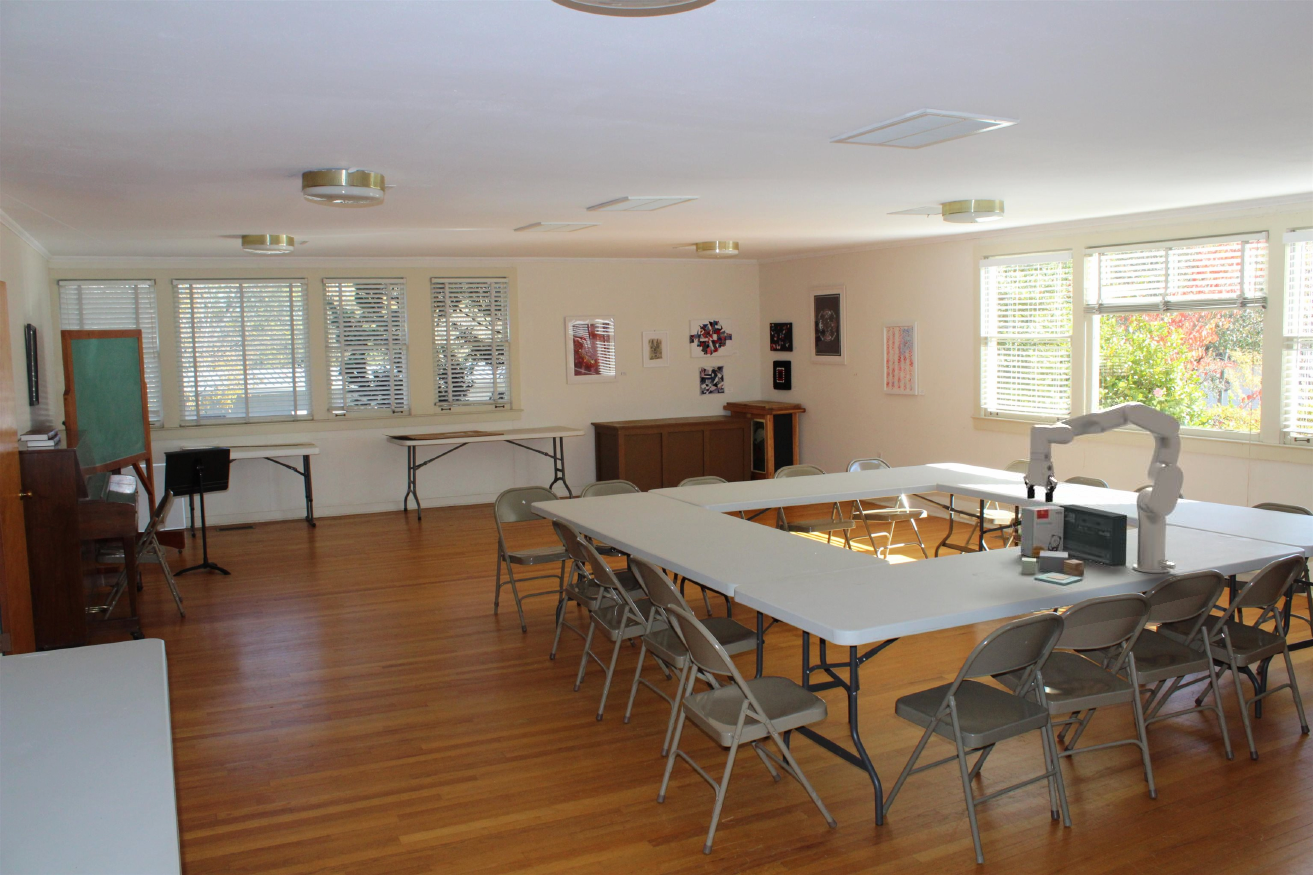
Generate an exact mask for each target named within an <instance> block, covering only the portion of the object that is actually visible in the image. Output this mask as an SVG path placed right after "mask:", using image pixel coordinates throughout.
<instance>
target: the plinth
mask: <svg viewBox="0 0 1313 875" xmlns="http://www.w3.org/2000/svg"><path fill="white" fill-rule="evenodd" d="M1067 560H1069V555H1068V552H1056V551H1040V557H1039V571H1040V570H1041V571H1043V572H1055V573H1063V572H1064V561H1067Z"/></svg>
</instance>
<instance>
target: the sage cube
mask: <svg viewBox="0 0 1313 875" xmlns="http://www.w3.org/2000/svg"><path fill="white" fill-rule="evenodd" d="M1030 573H1034V575H1036V574H1037V557H1022V558H1021V574H1030Z"/></svg>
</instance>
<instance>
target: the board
mask: <svg viewBox="0 0 1313 875" xmlns="http://www.w3.org/2000/svg"><path fill="white" fill-rule="evenodd" d="M1033 578H1034V580H1035V579H1036V580H1035V581H1040V580H1042V581H1041V582H1046V583H1052V584H1055V583H1056V585H1060V586H1067V585H1071V584H1074V583H1077V582H1080V581H1083V577H1081V576H1070V575H1067V574H1064V573H1060V572H1055V571H1050V572H1048V573H1045V574H1041V575H1037V576H1034V577H1033Z"/></svg>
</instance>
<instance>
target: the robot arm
mask: <svg viewBox="0 0 1313 875" xmlns="http://www.w3.org/2000/svg"><path fill="white" fill-rule="evenodd" d="M1130 425H1134V426H1136V427H1137V428H1140V429H1143V430H1145V431H1147V432H1149V433H1150V434H1151V435H1152V437H1153V440H1154V450H1153V454H1152V458H1151V461H1150V463H1149V466H1148V469H1147V479H1148V480H1149V482H1151V483H1152V484H1153V486H1152V487H1146V488H1144V489H1142V490H1140V492H1139V493H1138V494H1137V497H1136V509H1137V547H1136V548H1137V550H1136V552H1137V554H1136V563H1134V564H1133V565H1132V569H1134V570H1135V571H1139V572H1142V573H1149V574H1164V573H1168V572H1170V569H1171V570H1175V569H1176V566H1177V565H1176V564H1175V563H1173V562H1169V559H1168V558H1166V546H1167V545H1166V543H1167V542H1166V539H1167V538H1166V537H1167V516H1169V515H1171V514H1172V513H1173V511H1174V510H1175V509H1176V507H1177V504H1178V500H1179V498H1180V495H1181V494H1180V493H1181V491H1182V488H1183V484H1184V477H1185V476H1184V472H1183V470H1182V469H1181V467H1180V466H1178V461H1179V457H1180V453H1181V446H1182V443H1181V437H1180V434H1179V431H1180V428H1181V424H1180V422H1179V420H1178V419H1177V418H1176V417H1175V416H1173V415H1172V414H1169V413H1166V412H1163V411H1161V410H1158V409H1156V408H1154V407H1151V406H1149V405H1147V404H1144V403H1142V402H1137V401H1127V402H1123V403H1120V404H1116V405H1113V406H1111V407H1110V406H1109V407H1107V408H1104V409H1101V410H1097V411H1093V412H1089V413H1085V414H1082V415H1080V416H1079V415H1078V416H1075V417H1071V418H1068V419H1064V420H1061V421H1058V422H1055V423H1053V424H1052V425H1048V424H1034V425H1032V426H1031V427H1030V435H1029V436H1030V437H1029V438H1030V443H1029V445H1030V446H1029V447H1030V448H1029V454H1030V455H1029V462H1028V465H1027V466H1028V467H1027V474H1025V475H1024V476H1022V478H1023V481H1024V485H1025V488H1026V490H1027V494H1026V497H1027V500H1032V499H1035V498H1036V489H1035V487H1036V486H1037V487H1042V488H1044V489H1045V493H1044V494H1045V495H1044V496H1045V498H1044V502H1045V503H1053V502H1054V492H1055V490H1056V489H1057V486H1058V484H1059V482H1058V481H1057V480H1056V479H1055V468H1054V463H1053V460H1052V444H1056V445H1068V444H1070V443H1072V442H1073V440H1074V439H1075V437H1078V436H1083V435H1097V434H1103V433H1107V432H1111V431H1113V430H1116V429H1120V428H1123V427H1127V426H1130Z"/></svg>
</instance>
